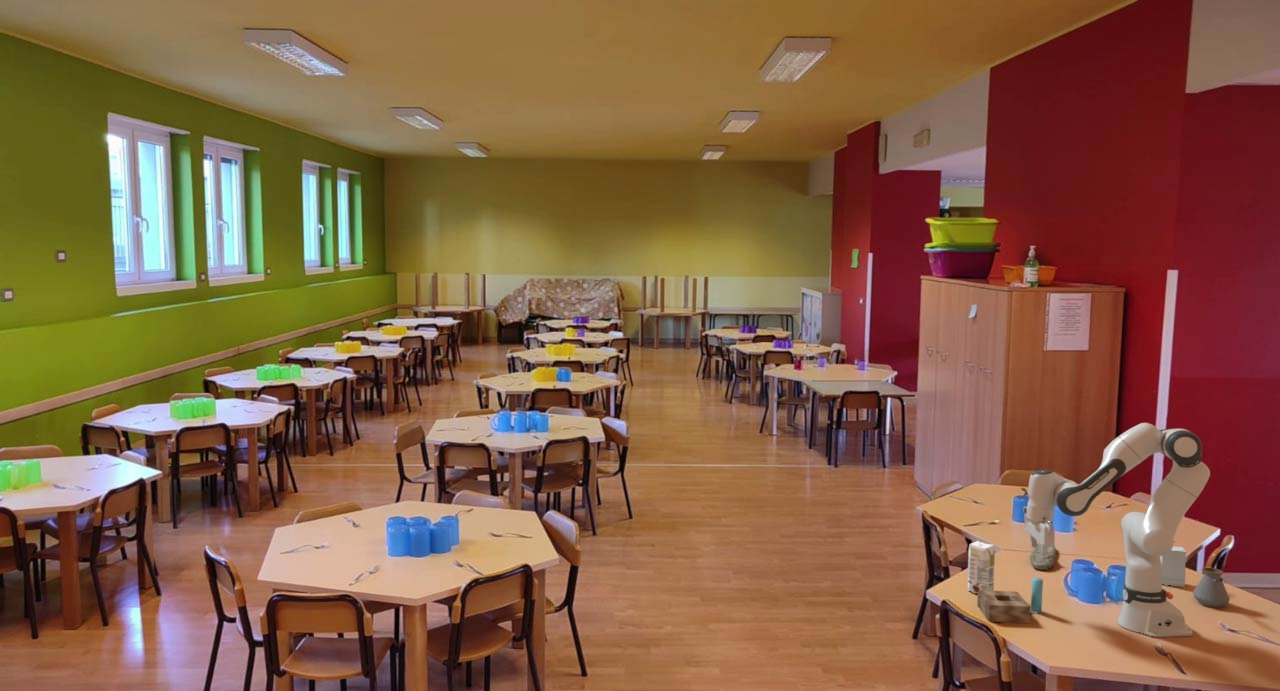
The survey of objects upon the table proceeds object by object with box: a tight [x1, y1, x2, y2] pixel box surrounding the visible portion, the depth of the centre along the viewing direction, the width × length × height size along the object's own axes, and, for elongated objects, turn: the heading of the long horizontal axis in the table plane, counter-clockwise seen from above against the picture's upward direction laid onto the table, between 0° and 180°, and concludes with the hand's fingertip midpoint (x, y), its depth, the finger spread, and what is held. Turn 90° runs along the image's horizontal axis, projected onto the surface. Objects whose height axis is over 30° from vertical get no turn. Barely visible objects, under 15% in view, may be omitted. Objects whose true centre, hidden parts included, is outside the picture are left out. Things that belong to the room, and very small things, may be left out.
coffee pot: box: [1192, 567, 1231, 609], centre depth 316 cm, size 21×12×15 cm, turn 156°
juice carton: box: [967, 540, 996, 595], centre depth 332 cm, size 8×9×19 cm
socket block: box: [976, 590, 1031, 624], centre depth 311 cm, size 14×14×6 cm
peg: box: [1030, 577, 1044, 614], centre depth 314 cm, size 4×4×12 cm
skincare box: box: [1160, 545, 1187, 588], centre depth 340 cm, size 8×6×15 cm
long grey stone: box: [1029, 542, 1057, 571], centre depth 370 cm, size 35×5×10 cm
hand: (1038, 551), depth 312 cm, fingers open, 8 cm apart
